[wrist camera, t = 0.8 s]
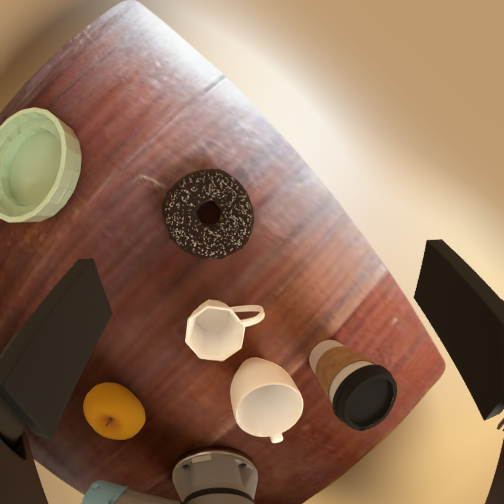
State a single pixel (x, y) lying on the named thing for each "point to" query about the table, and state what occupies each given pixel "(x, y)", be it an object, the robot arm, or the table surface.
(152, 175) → the table surface
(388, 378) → the coffee cup
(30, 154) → the serving bowl
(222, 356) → the cup
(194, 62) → the table surface
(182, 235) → the donut
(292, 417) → the mug
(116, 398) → the apple
